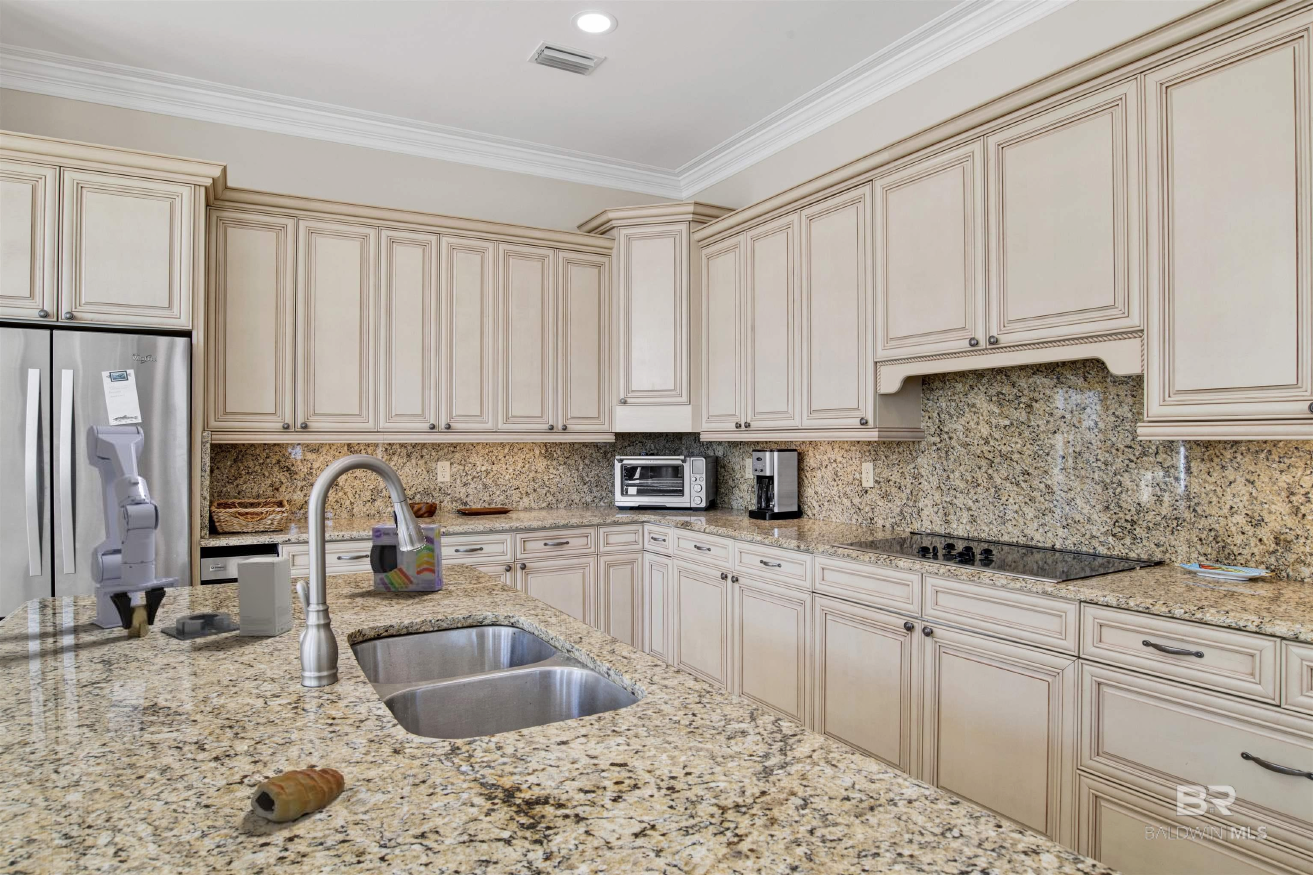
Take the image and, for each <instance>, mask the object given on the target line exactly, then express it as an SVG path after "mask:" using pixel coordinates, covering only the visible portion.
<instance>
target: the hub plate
mask: <svg viewBox="0 0 1313 875" xmlns="http://www.w3.org/2000/svg"><path fill="white" fill-rule="evenodd" d="M162 631H163V633H165V634H167V633H168V634H167V635H169V634H170V635H169V636H172V637H174V636H175V637H174V638H176V637H177V638H176V639H179V640H181V639H182V640H181V641H187V640H186V639H188V640H192V638H193V639H198V638H197V637H199V638H203V637H202V636H204V637H208V635H209V636H213V635H212V634H214V635H219V634H223V633H230V632H235V631H240V624H239V623H238V622H235V621H231V613H228V612H225V611H208V612H207V611H206V612H200V613H199V612H197V613H192V614H187V615H183V616H181V617H179V618H177V619H176V621H175V625H174V626H168V627H162V628H160V632H162ZM218 633H219V634H218Z"/></svg>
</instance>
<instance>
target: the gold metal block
mask: <svg viewBox="0 0 1313 875" xmlns="http://www.w3.org/2000/svg"><path fill="white" fill-rule="evenodd" d="M149 627H150V626H149V604H146V603H140V604H136V605H131V606H130V629H128V630H127V637H128V636H137V637H139V636H140V637H139V638H143V637H142V636H146V637H147V635H149V634H148V633H149V632H150V630H149V629H150V628H149ZM146 634H147V635H146Z"/></svg>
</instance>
